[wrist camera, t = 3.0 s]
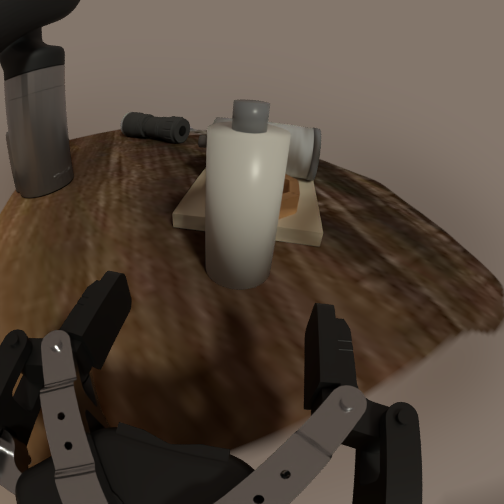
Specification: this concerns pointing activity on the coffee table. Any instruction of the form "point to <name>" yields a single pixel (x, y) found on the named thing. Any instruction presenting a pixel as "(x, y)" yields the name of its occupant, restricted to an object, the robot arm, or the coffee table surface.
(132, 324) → the coffee table surface
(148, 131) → the flashlight
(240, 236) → the white capped bottle
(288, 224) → the motor mount
